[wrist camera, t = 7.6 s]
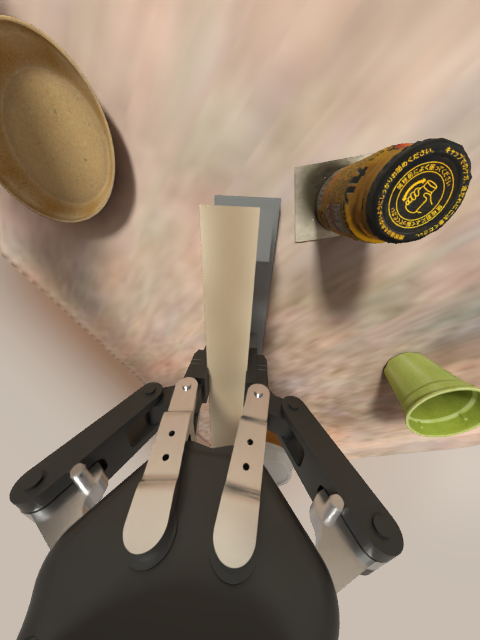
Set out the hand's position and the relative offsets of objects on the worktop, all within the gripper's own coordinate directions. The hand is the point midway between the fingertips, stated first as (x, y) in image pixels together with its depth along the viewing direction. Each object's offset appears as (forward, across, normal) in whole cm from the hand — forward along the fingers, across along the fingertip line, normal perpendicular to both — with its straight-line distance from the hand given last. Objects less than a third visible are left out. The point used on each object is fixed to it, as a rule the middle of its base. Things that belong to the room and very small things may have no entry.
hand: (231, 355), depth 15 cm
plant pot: (+14, -26, +11) cm, 32 cm away
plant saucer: (+14, +21, -15) cm, 29 cm away
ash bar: (+1, 0, 0) cm, 1 cm away
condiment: (+14, -9, -11) cm, 20 cm away
